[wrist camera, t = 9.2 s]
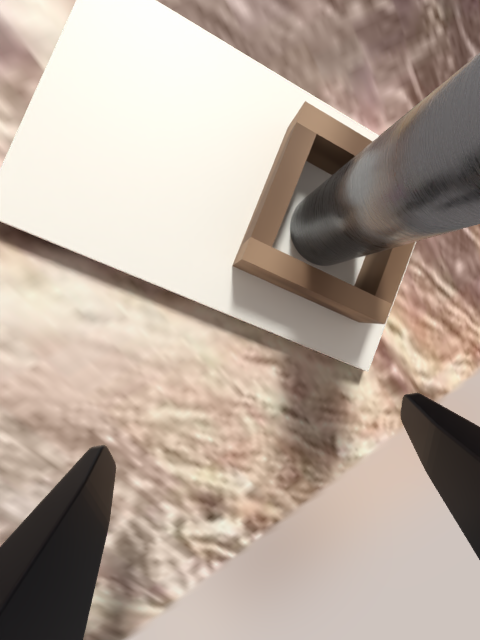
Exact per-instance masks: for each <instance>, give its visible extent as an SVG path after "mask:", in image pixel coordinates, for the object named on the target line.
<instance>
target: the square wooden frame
mask: <svg viewBox="0 0 480 640" xmlns="http://www.w3.org/2000/svg"><path fill="white" fill-rule="evenodd" d="M372 142H373V141H371V140H369V139H368V138H366V137H364V136H363V135H361V134H359V133H358V132H356V131H354V130H353V129H351V128H349V127H348V126H346V125H344V124H343V123H341V122H339V121H338V120H336V119H334V118H333V117H331V116H329V115H328V114H326V113H324V112H323V111H321V110H319V109H318V108H316V107H314V106H313V105H311V104H309V103H308V102H306V101H305V102H304V103H303V105H302V107H301V108H300V110H299V111H298V113H297V114H296V116H295V117H294V119H293V120H292V122H291V123H290V125H289V126H288V128H287V130H286V133H285V135H284V138H283V140H282V143H281V145H280V148H279V150H278V153H277V155H276V158H275V160H274V163H273V165H272V168H271V170H270V173H269V175H268V178H267V180H266V183H265V185H264V188H263V190H262V193H261V195H260V198H259V200H258V203H257V205H256V208H255V210H254V213H253V215H252V218H251V220H250V223H249V225H248V228H247V230H246V233H245V235H244V238H243V240H242V243H241V245H240V248H239V250H238V253H237V255H236V258H235V260H234V263H233V265H232V266H234V267H236V268H238V269H240V270H242V271H245V272H247V273H249V274H251V275H254V276H256V277H258V278H260V279H263V280H265V281H267V282H269V283H272V284H274V285H276V286H278V287H281V288H283V289H285V290H287V291H289V292H292V293H294V294H296V295H298V296H301V297H303V298H305V299H307V300H310V301H312V302H314V303H316V304H319V305H321V306H323V307H325V308H328V309H330V310H332V311H334V312H337V313H339V314H341V315H343V316H345V317H348V318H350V319H352V320H354V321H357V322H359V323H374V324H385V323H386V320H387V318H388V315H389V312H390V310H391V307H392V304H393V301H394V299H395V296H396V293H397V291H398V288H399V285H400V282H401V280H402V277H403V274H404V272H405V269H406V266H407V264H408V261H409V258H410V255H411V253H412V250H413V247H414V245H415V242H413V243H409V244H405V245H402V246H398V247H395V248H391V249H388V250H384V251H380V252H377V253H373V254H370V255H366V256H365V259H364V261H363V264H362V267H361V269H360V272H359V275H358V277H357V280H356V283H355V285H354V286H353V285H351V284H349V283H347V282H345V281H342V280H340V279H338V278H336V277H334V276H332V275H330V274H328V273H326V272H323V271H321V270H319V269H317V268H315V267H313V266H311V265H309V264H307V263H304V262H302V261H300V260H298V259H296V258H294V257H292V256H290V255H288V254H286V253H283V252H281V251H279V250H277V249H275V248H273V247H272V246H273V243H274V241H275V238H276V236H277V233H278V231H279V228H280V226H281V223H282V220H283V218H284V215H285V213H286V210H287V208H288V205H289V203H290V200H291V198H292V195H293V193H294V190H295V188H296V185H297V183H298V180H299V177H300V175H301V172H302V170H303V167H304V165H305V162H306V161H307V162H309V163H311V164H313V165H314V166H316V167H318V168H320V169H322V170H323V171H325V172H327V173H329V174H331V175H333V174H334V173H336V172H337V171H338V170H339V169H340V168H342V167H343V166H344V165H345V164H346V163H348V162H349V161H350V160H351V159H352V158H354V157H355V156H356V155H357V154H358V153H360V152H361V151H362V150H363V149H364V148H366V147H367V146H368V145H369V144H370V143H372Z"/></svg>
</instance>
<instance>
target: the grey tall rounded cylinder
mask: <svg viewBox="0 0 480 640" xmlns="http://www.w3.org/2000/svg"><path fill="white" fill-rule="evenodd" d="M477 224H480V53H479V54H478V55H476V56H475V57H474V58H473V59H472V60H470V61H469V62H468V63H467V64H466V65H464V66H463V67H462V68H461V69H460V70H458V71H457V72H456V73H455V74H453V75H452V76H451V77H450V78H449V79H447V80H446V81H445V82H444V83H443V84H441V85H440V86H439V87H438V88H437V89H435V90H434V91H433V92H432V93H431V94H429V95H428V96H427V97H426V98H425V99H423V100H422V101H421V102H420V103H419V104H417V105H416V106H415V107H414V108H413V109H411V110H410V111H409V112H408V113H407V114H405V115H404V116H403V117H402V118H401V119H399V120H398V121H397V122H396V123H395V124H393V125H392V126H391V127H390V128H388V129H387V130H386V131H385V132H384V133H382V134H381V135H380V136H379V137H378V138H376V139H375V140H374V141H373V142H372V143H370V144H369V145H368V146H367V147H366V148H364V149H363V150H362V151H361V152H360V153H358V154H357V155H356V156H355V157H354V158H352V159H351V160H350V161H349V162H348V163H346V164H345V165H344V166H343V167H342V168H340V169H339V170H338V171H337V172H336V173H334V174H333V175H332V176H331V177H329V178H328V179H327V180H326V181H325V182H323V183H322V184H321V185H320V186H319V187H317V188H316V189H315V190H314V191H313V192H311V193H310V194H309V195H308V196H307V197H305V198H304V199H303V200H302V201H301V202H300V203H299V204H298V205H297V206H296V208H295V210H294V212H293V214H292V217H291V222H290V234H291V239H292V242H293V244H294V246H295V248H296V250H297V251H298V252H299V254H300V255H301V256H302V257H303V258H304V259H306V260H307V261H309V262H311V263H313V264H316V265H320V266H330V265H334V264H338V263H341V262H345V261H348V260H352V259H355V258H359V257H363V256H366V255H370V254H373V253H377V252H380V251H384V250H388V249H391V248H395V247H398V246H402V245H405V244H409V243H413V242H416V241H420V240H423V239H427V238H431V237H434V236H438V235H441V234H445V233H448V232H452V231H456V230H459V229H463V228H466V227H470V226H473V225H477Z"/></svg>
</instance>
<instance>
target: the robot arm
mask: <svg viewBox="0 0 480 640" xmlns="http://www.w3.org/2000/svg"><path fill="white" fill-rule="evenodd" d="M401 420H402V423H403V425H404V427H405V429H406V431H407V433H408V435H409V438H410V440H411V442H412V443H413V446H414V448H415V450H416V452H417V454H418V456H419V458H420V461H421V463H422V464H423V466H424V468H425V471H426V472H427V474H428V476H429V477H430V479H431V481H432V482H433V484H434V486H435V487H436V489H437V490H438V492H439V494H440V496H441V497H442V499H443V501H444V502H445V504H446V505H447V507H448V509H449V510H450V512H451V514H452V515H453V517H454V519H455V520H456V522H457V523H458V525H459V527H460V528H461V530H462V532H463V533H464V535H465V537H466V538H467V540H468V541H469V543H470V545H471V546H472V548H473V550H474V551H475V553H476V555H477V556H478V558H479V560H480V427H479V426H477V425H475V424H474V423H472V422H470V421H468V420H467V419H465V418H463V417H461V416H459V415H458V414H456V413H454V412H452V411H450V410H449V409H447V408H445V407H443V406H441V405H440V404H438V403H436V402H434V401H432V400H431V399H429V398H427V397H425V396H424V395H422V394H420V393H412V394H406V395H404V397H403V400H402V407H401ZM115 473H116V464H115V461H114V459H113V457H112V455H111V453H110V451H109V450H108V448H107V446H105V445H101V446H95V447H91V448H90V449H89V450H88V451H87V452H86V453H85V454H84V455H83V456H82V458H81V459H80V460H79V461H78V462H77V463H76V464H75V465H74V466H73V467H72V469H71V470H70V471H69V472H68V473H67V474H66V475H65V476H64V477H63V478H62V480H61V481H60V482H59V483H58V484H57V485H56V486H55V487H54V488H53V489H52V490H51V492H50V493H49V494H48V495H47V496H46V497H45V498H44V499H43V500H42V501H41V503H40V504H39V505H38V506H37V507H36V508H35V509H34V510H33V511H32V512H31V514H30V515H29V516H28V517H27V518H26V519H25V520H24V521H23V522H22V523H21V525H20V526H19V527H18V528H17V529H16V530H15V531H14V532H13V533H12V534H11V536H10V537H9V538H8V539H7V540H6V541H5V542H4V543H3V544H2V545H1V547H0V640H83V638H84V633H85V629H86V624H87V620H88V615H89V611H90V607H91V602H92V598H93V593H94V589H95V585H96V580H97V576H98V571H99V567H100V563H101V558H102V554H103V549H104V545H105V541H106V536H107V532H108V527H109V521H110V514H111V506H112V498H113V490H114V482H115Z"/></svg>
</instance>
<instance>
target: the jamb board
mask: <svg viewBox="0 0 480 640" xmlns="http://www.w3.org/2000/svg"><path fill="white" fill-rule="evenodd" d="M305 101H306V102H308V103H309V104H311V105H313V106H314V107H316V108H318V109H319V110H321V111H323V112H324V113H326V114H328V115H329V116H331V117H333V118H334V119H336V120H338V121H339V122H341V123H343V124H344V125H346V126H348V127H349V128H351V129H353V130H354V131H356V132H358V133H359V134H361V135H363V136H364V137H366V138H368V139H369V140H371V141H374V140H375V139H376V138H378V137H379V135H377V134H375V133H374V132H372V131H371V130H369V129H367V128H366V127H364V126H362V125H361V124H359V123H357V122H356V121H354V120H352V119H351V118H349V117H347V116H346V115H344V114H342V113H341V112H339V111H338V110H336V109H334V108H333V107H331V106H329V105H328V104H326V103H324V102H323V101H321V100H319V99H318V98H316V97H314V96H313V95H311V94H310V93H308V92H306V91H305V90H303V89H301V88H300V87H298V86H296V85H295V84H293V83H291V82H290V81H288V80H286V79H285V78H283V77H281V76H280V75H278V74H277V73H275V72H273V71H272V70H270V69H268V68H267V67H265V66H263V65H262V64H260V63H258V62H257V61H255V60H253V59H252V58H250V57H248V56H247V55H245V54H244V53H242V52H240V51H239V50H237V49H235V48H234V47H232V46H230V45H229V44H227V43H225V42H224V41H222V40H220V39H219V38H217V37H215V36H214V35H212V34H211V33H209V32H207V31H206V30H204V29H202V28H201V27H199V26H197V25H196V24H194V23H192V22H191V21H189V20H187V19H186V18H184V17H183V16H181V15H179V14H178V13H176V12H174V11H173V10H171V9H169V8H168V7H166V6H164V5H163V4H161V3H159V2H158V1H156V0H76V2H75V4H74V7H73V9H72V11H71V13H70V15H69V18H68V20H67V22H66V24H65V27H64V29H63V31H62V33H61V35H60V38H59V40H58V42H57V44H56V47H55V49H54V51H53V53H52V55H51V58H50V60H49V62H48V64H47V66H46V69H45V71H44V73H43V75H42V78H41V80H40V82H39V84H38V86H37V89H36V91H35V93H34V95H33V97H32V100H31V102H30V104H29V106H28V109H27V111H26V113H25V115H24V117H23V120H22V122H21V124H20V126H19V129H18V131H17V133H16V135H15V137H14V140H13V142H12V144H11V146H10V148H9V151H8V153H7V155H6V157H5V160H4V162H3V164H2V166H1V168H0V222H1V223H4V224H6V225H9V226H11V227H14V228H16V229H19V230H21V231H23V232H26V233H28V234H31V235H33V236H36V237H38V238H41V239H43V240H45V241H48V242H50V243H53V244H55V245H58V246H60V247H63V248H65V249H67V250H70V251H72V252H75V253H77V254H80V255H82V256H85V257H87V258H89V259H92V260H94V261H97V262H99V263H102V264H104V265H107V266H109V267H111V268H114V269H116V270H119V271H121V272H124V273H126V274H129V275H131V276H133V277H136V278H138V279H141V280H143V281H146V282H148V283H151V284H153V285H155V286H158V287H160V288H163V289H165V290H168V291H170V292H173V293H175V294H177V295H180V296H182V297H185V298H187V299H190V300H192V301H195V302H197V303H199V304H202V305H204V306H207V307H209V308H212V309H214V310H217V311H219V312H221V313H224V314H226V315H229V316H231V317H234V318H236V319H238V320H241V321H243V322H246V323H248V324H251V325H253V326H256V327H258V328H260V329H263V330H265V331H268V332H270V333H273V334H275V335H278V336H280V337H282V338H285V339H287V340H290V341H292V342H295V343H297V344H300V345H302V346H304V347H307V348H309V349H312V350H314V351H317V352H319V353H322V354H324V355H326V356H329V357H331V358H334V359H336V360H339V361H341V362H344V363H346V364H348V365H351V366H353V367H356V368H358V369H361V370H364V371H369V368H370V365H371V363H372V360H373V357H374V354H375V352H376V349H377V346H378V344H379V341H380V338H381V336H382V333H383V330H384V327H385V325H386V323H385V324H374V323H359V322H357V321H354V320H352V319H350V318H348V317H345V316H343V315H341V314H339V313H337V312H334V311H332V310H330V309H328V308H325V307H323V306H321V305H319V304H316V303H314V302H312V301H310V300H307V299H305V298H303V297H301V296H298V295H296V294H294V293H292V292H289V291H287V290H285V289H283V288H281V287H278V286H276V285H274V284H272V283H269V282H267V281H265V280H263V279H260V278H258V277H256V276H254V275H251V274H249V273H247V272H245V271H242V270H240V269H238V268H236V267H234V266H232V265H233V263H234V260H235V258H236V255H237V253H238V250H239V248H240V245H241V243H242V240H243V238H244V235H245V233H246V230H247V228H248V225H249V223H250V220H251V218H252V215H253V213H254V210H255V208H256V205H257V203H258V200H259V198H260V195H261V193H262V190H263V188H264V185H265V183H266V180H267V178H268V175H269V173H270V170H271V168H272V165H273V163H274V160H275V158H276V155H277V153H278V150H279V148H280V145H281V143H282V140H283V138H284V135H285V133H286V130H287V128H288V126H289V125H290V123H291V122H292V120H293V119H294V117H295V116H296V114H297V113H298V111H299V110H300V108H301V107H302V105H303V103H304V102H305ZM331 176H332V175H331V174H329V173H327V172H325V171H323V170H322V169H320V168H318V167H316V166H314V165H313V164H311V163H309V162H307V161H306V162H305V165H304V167H303V170H302V172H301V175H300V177H299V180H298V183H297V185H296V188H295V190H294V193H293V195H292V198H291V200H290V203H289V205H288V208H287V210H286V213H285V215H284V218H283V220H282V223H281V226H280V228H279V231H278V233H277V236H276V238H275V241H274V243H273V246H272V247H273V248H275V249H277V250H279V251H281V252H283V253H286V254H288V255H290V256H292V257H294V258H296V259H298V260H300V261H302V262H304V263H307V264H309V265H311V266H313V267H315V268H317V269H319V270H321V271H323V272H326V273H328V274H330V275H332V276H334V277H336V278H338V279H340V280H342V281H345V282H347V283H349V284H351V285H353V286H354V285H355V283H356V280H357V277H358V275H359V272H360V269H361V267H362V264H363V261H364V259H365V256H363V257H359V258H355V259H352V260H348V261H345V262H341V263H338V264H334V265H330V266H320V265H316V264H313V263H311V262H309V261H307V260H306V259H304V258H303V257H302V256H301V255H300V254H299V252H298V251H297V250H296V248H295V246H294V244H293V242H292V239H291V234H290V222H291V217H292V214H293V212H294V210H295V208H296V206H297V205H298V204H299V203H300V202H301V201H302V200H303V199H304V198H305V197H307V196H308V195H309V194H310V193H311V192H313V191H314V190H315V189H316V188H317V187H319V186H320V185H321V184H322V183H323V182H325V181H326V180H327V179H328V178H329V177H331ZM415 243H416V242H415ZM414 246H415V245H414ZM413 249H414V247H413ZM412 252H413V250H412ZM411 254H412V253H411ZM410 257H411V255H410ZM409 260H410V258H409ZM408 262H409V261H408ZM407 265H408V264H407ZM406 268H407V266H406ZM405 271H406V269H405ZM404 273H405V272H404ZM403 276H404V274H403ZM402 279H403V277H402ZM401 281H402V280H401ZM400 284H401V282H400ZM399 287H400V285H399ZM398 290H399V288H398ZM397 292H398V291H397ZM396 295H397V293H396ZM395 298H396V296H395ZM394 300H395V299H394ZM393 303H394V301H393ZM392 306H393V304H392ZM391 308H392V307H391ZM390 311H391V310H390ZM389 314H390V312H389ZM388 317H389V315H388ZM387 319H388V318H387ZM386 322H387V320H386Z"/></svg>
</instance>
